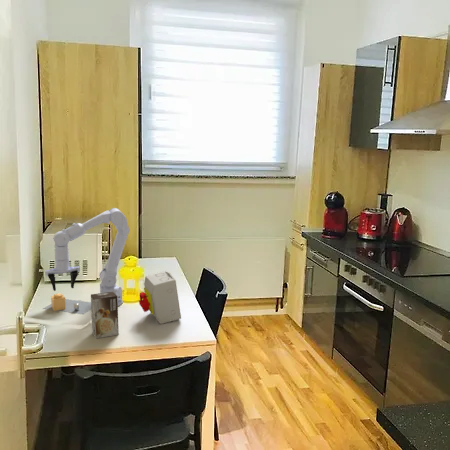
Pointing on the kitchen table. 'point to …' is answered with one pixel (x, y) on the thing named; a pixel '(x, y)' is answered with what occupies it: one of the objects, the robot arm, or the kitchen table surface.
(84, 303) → the terminal board
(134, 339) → the kitchen table surface
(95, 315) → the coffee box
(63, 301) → the light orange block
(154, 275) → the electrical switch box
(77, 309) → the pigtail posts
